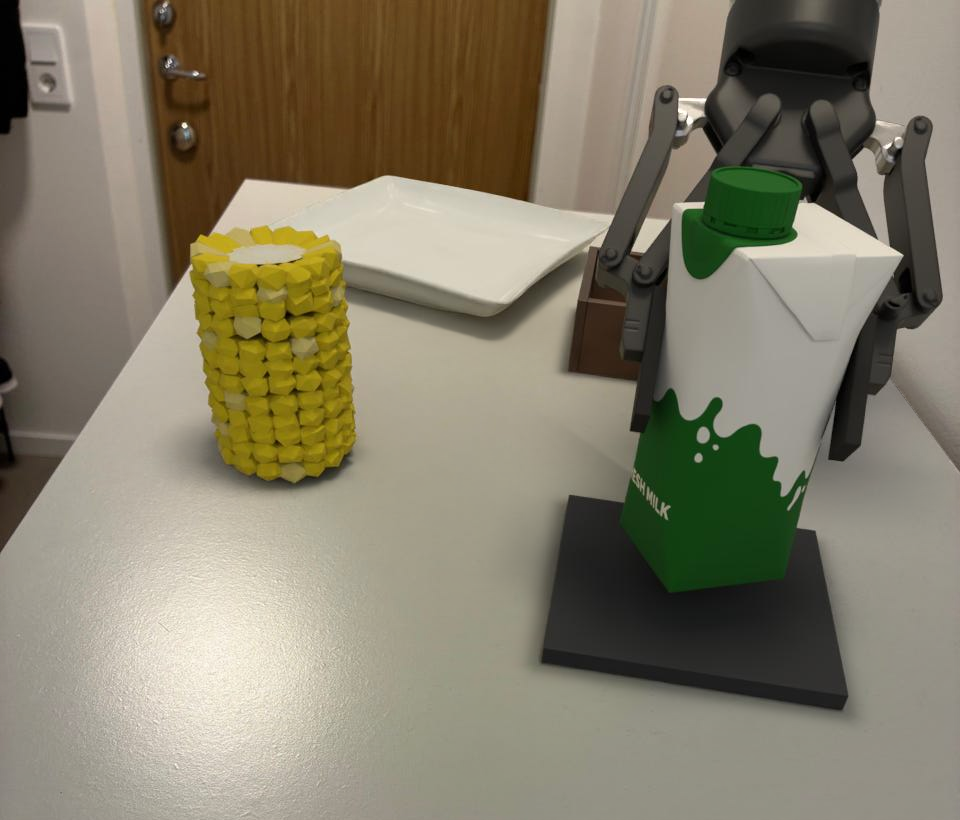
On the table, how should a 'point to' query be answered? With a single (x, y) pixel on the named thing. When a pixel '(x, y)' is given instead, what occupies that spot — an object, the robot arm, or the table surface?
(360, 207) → the square plate
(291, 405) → the food
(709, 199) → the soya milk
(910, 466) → the table surface
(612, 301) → the crate
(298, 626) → the table surface
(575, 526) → the mat
